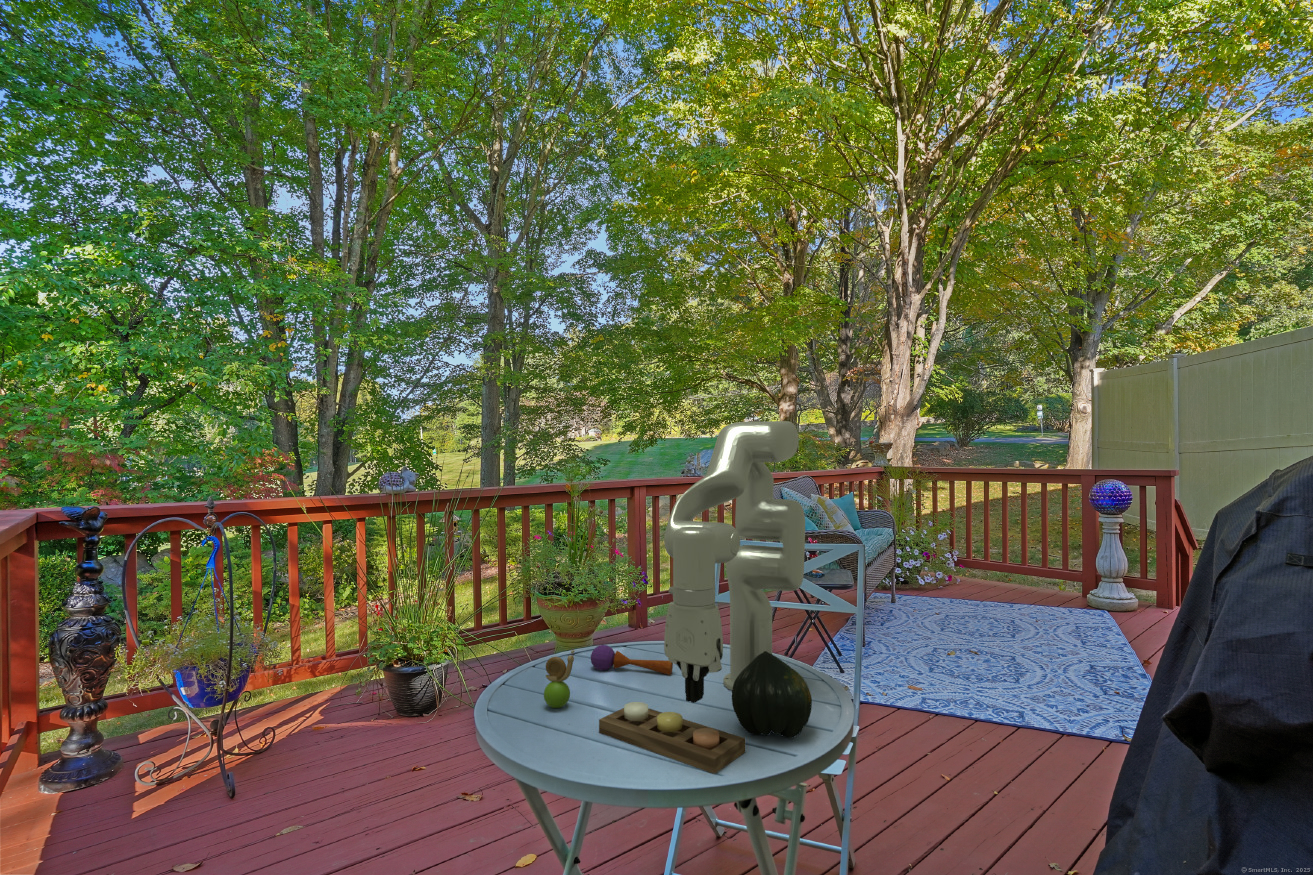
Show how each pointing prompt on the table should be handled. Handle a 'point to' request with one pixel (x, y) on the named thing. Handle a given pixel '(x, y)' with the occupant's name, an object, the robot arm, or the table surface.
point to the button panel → (673, 740)
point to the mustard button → (669, 722)
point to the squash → (771, 698)
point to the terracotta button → (706, 738)
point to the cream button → (636, 711)
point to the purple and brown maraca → (625, 661)
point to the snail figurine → (558, 681)
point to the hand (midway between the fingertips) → (694, 699)
